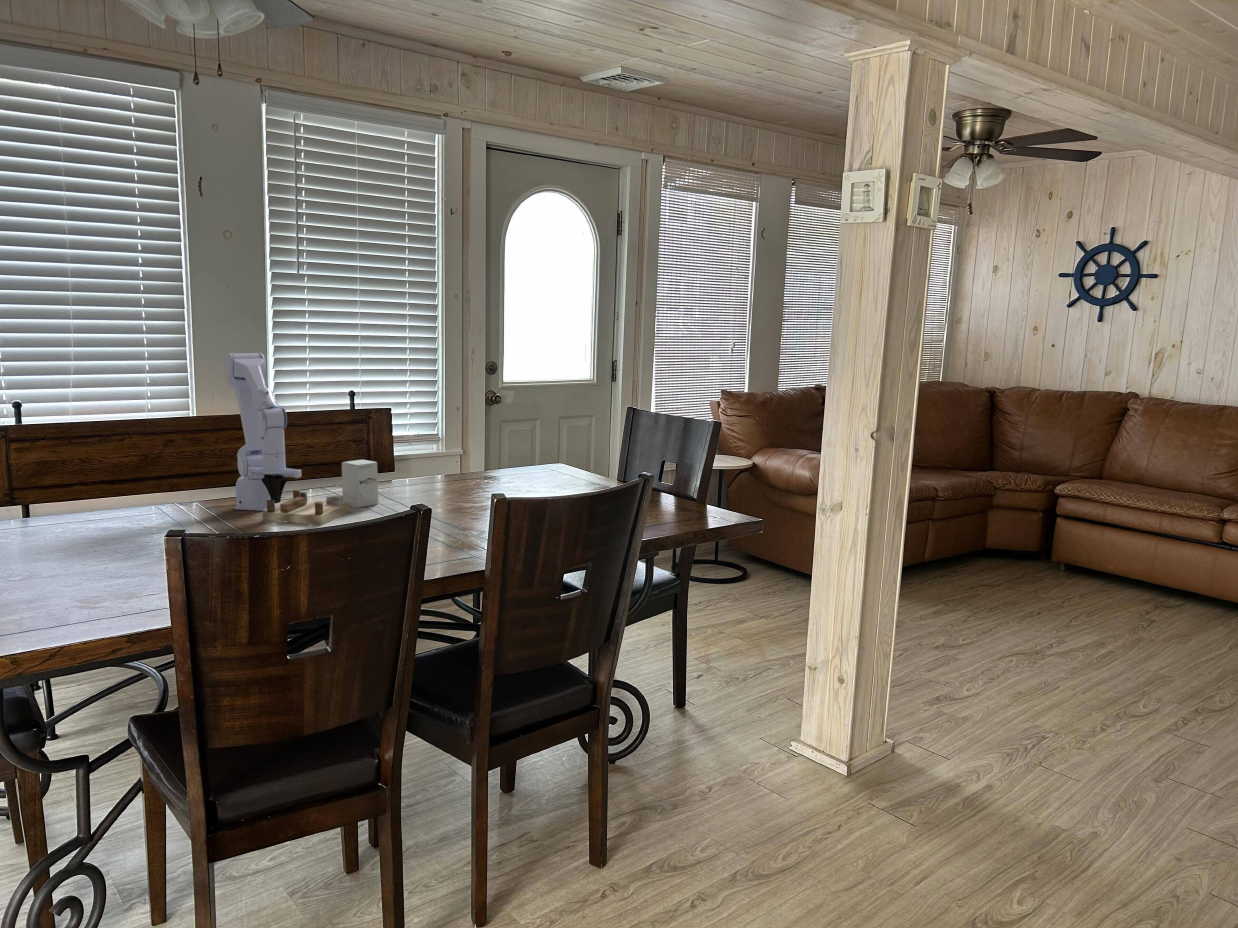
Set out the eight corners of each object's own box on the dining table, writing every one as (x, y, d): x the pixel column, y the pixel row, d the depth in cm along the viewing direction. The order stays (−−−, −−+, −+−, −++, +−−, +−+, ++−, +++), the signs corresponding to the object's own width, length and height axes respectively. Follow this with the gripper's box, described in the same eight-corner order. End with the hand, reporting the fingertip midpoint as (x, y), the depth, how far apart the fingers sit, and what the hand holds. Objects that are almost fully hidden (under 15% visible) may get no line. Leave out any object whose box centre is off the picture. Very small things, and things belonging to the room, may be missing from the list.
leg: (302, 502, 252) (301, 491, 251) (308, 502, 252) (308, 492, 251) (280, 511, 241) (279, 500, 240) (287, 511, 241) (286, 500, 240)
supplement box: (358, 508, 258) (356, 464, 256) (342, 504, 263) (340, 461, 260) (379, 504, 264) (378, 461, 262) (363, 500, 268) (361, 458, 266)
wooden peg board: (262, 521, 242) (261, 500, 241) (293, 508, 257) (292, 489, 256) (322, 524, 239) (321, 504, 238) (349, 511, 254) (349, 492, 253)
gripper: (240, 454, 240) (243, 504, 242) (291, 456, 238) (293, 507, 240) (255, 450, 247) (257, 498, 249) (304, 452, 244) (306, 501, 247)
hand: (276, 502), depth 245 cm, fingers closed
